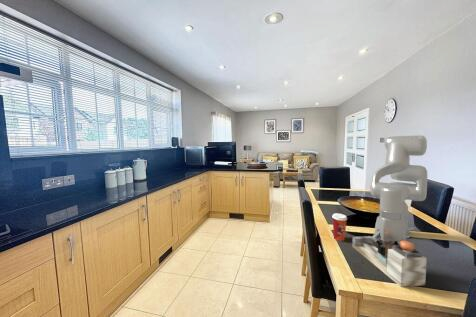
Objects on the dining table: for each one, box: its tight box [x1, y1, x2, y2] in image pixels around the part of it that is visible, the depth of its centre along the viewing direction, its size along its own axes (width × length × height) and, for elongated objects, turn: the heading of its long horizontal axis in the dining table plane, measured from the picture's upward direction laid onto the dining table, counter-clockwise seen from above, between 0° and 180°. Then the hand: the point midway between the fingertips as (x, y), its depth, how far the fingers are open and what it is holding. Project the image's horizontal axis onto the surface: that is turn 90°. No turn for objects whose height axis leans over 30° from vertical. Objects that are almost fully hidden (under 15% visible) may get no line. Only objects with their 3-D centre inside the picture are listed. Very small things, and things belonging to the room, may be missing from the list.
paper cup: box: [331, 212, 348, 242], centre depth 109 cm, size 8×8×14 cm
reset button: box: [400, 240, 415, 252], centre depth 75 cm, size 4×4×2 cm
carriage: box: [376, 241, 395, 266], centre depth 84 cm, size 7×5×9 cm
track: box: [351, 235, 428, 288], centre depth 86 cm, size 10×28×13 cm, turn 3°
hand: (388, 253), depth 84 cm, fingers open, 6 cm apart
